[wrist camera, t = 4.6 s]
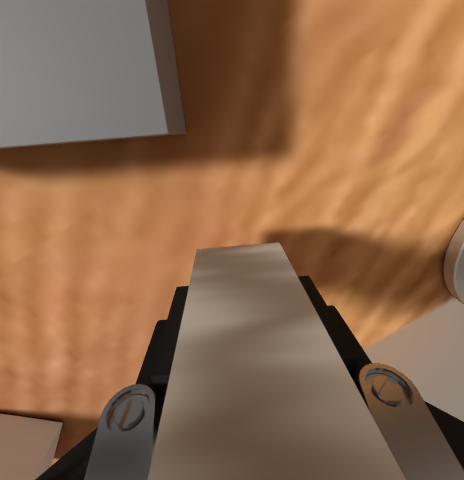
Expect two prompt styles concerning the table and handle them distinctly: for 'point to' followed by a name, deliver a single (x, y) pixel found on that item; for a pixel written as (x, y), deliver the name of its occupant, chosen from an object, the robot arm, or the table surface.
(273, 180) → the table surface
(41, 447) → the milk carton
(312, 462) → the peg
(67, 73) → the socket block
